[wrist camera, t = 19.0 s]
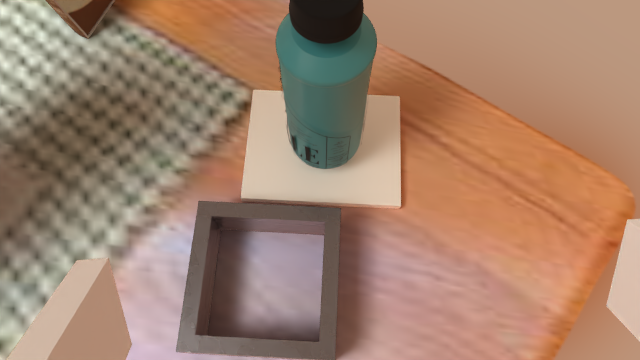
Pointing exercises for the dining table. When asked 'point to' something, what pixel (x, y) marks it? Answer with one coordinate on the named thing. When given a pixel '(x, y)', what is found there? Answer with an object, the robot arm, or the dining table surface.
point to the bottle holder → (202, 269)
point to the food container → (82, 13)
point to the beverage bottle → (325, 77)
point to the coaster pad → (323, 184)
